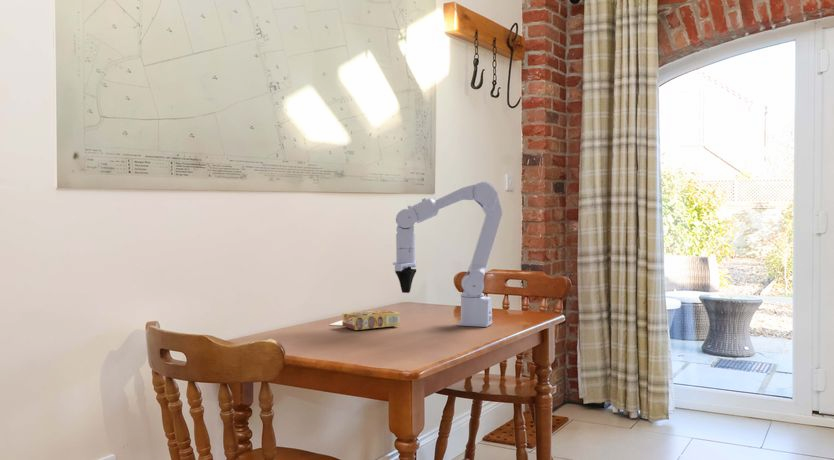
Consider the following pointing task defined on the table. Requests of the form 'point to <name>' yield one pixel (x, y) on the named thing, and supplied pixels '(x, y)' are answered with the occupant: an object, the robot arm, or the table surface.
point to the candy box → (371, 319)
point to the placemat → (337, 323)
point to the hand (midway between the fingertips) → (405, 292)
